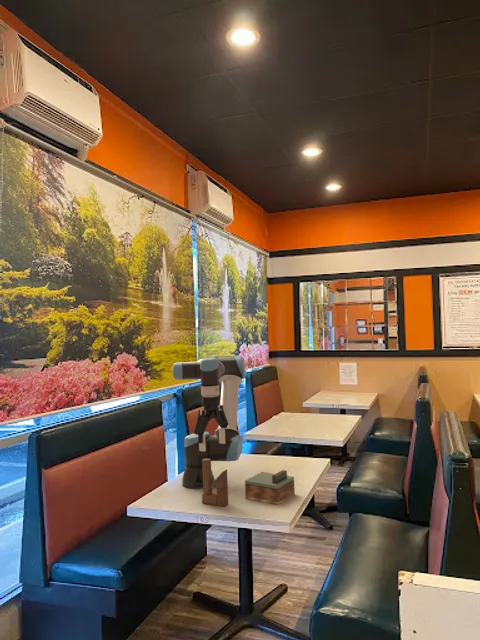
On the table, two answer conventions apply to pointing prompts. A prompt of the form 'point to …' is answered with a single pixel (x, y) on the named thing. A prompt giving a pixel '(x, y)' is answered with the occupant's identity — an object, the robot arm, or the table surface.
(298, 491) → the table surface
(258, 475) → the lid
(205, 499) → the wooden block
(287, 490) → the wooden box
